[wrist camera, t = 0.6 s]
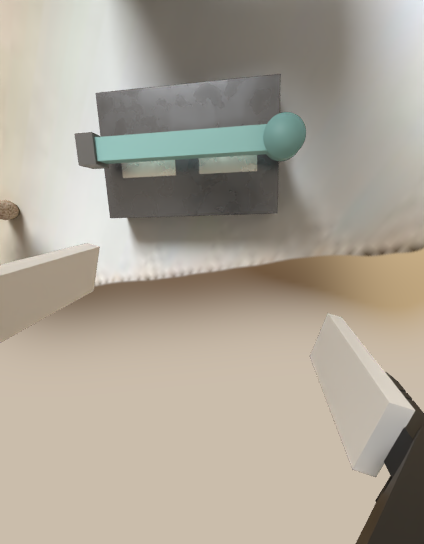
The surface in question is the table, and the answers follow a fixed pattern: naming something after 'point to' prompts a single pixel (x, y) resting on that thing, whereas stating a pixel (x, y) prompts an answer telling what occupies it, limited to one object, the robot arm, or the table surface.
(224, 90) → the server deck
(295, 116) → the green knobbed rod
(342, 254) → the table surface
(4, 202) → the mushroom
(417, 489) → the robot arm
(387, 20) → the table surface
